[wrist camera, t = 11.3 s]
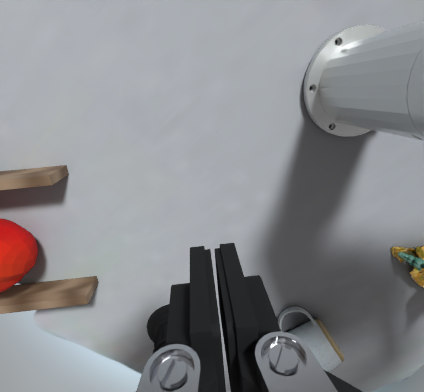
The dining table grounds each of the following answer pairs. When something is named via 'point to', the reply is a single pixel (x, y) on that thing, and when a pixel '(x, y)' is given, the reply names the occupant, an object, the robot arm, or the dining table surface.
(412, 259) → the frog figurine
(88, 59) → the dining table surface
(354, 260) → the dining table surface
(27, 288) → the box
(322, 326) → the ceramic mug
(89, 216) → the dining table surface
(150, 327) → the handle grip
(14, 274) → the tomato
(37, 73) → the dining table surface
